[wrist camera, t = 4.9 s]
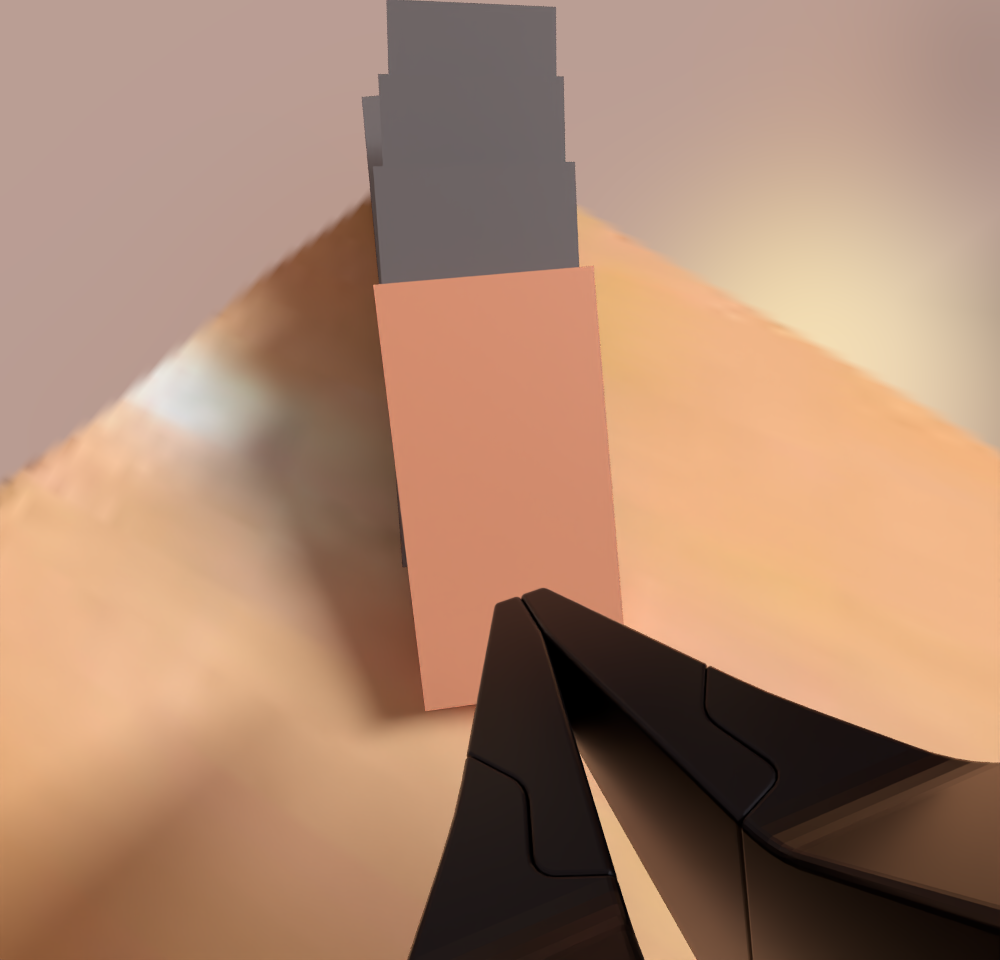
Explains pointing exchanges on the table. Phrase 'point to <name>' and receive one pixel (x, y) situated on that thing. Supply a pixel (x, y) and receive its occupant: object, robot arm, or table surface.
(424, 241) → the domino
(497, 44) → the domino
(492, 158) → the domino
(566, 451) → the domino
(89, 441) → the table surface
